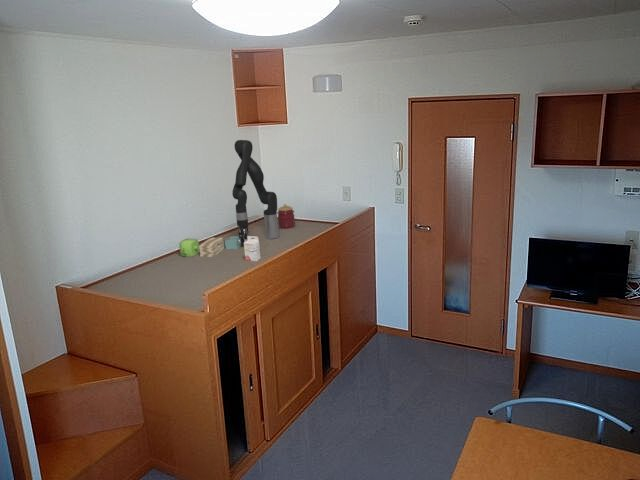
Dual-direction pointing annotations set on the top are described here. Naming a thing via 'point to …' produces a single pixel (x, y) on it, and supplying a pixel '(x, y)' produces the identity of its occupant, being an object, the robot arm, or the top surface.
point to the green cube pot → (189, 247)
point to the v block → (232, 243)
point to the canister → (286, 217)
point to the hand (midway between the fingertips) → (244, 242)
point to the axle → (236, 239)
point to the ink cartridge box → (252, 249)
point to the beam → (211, 247)
